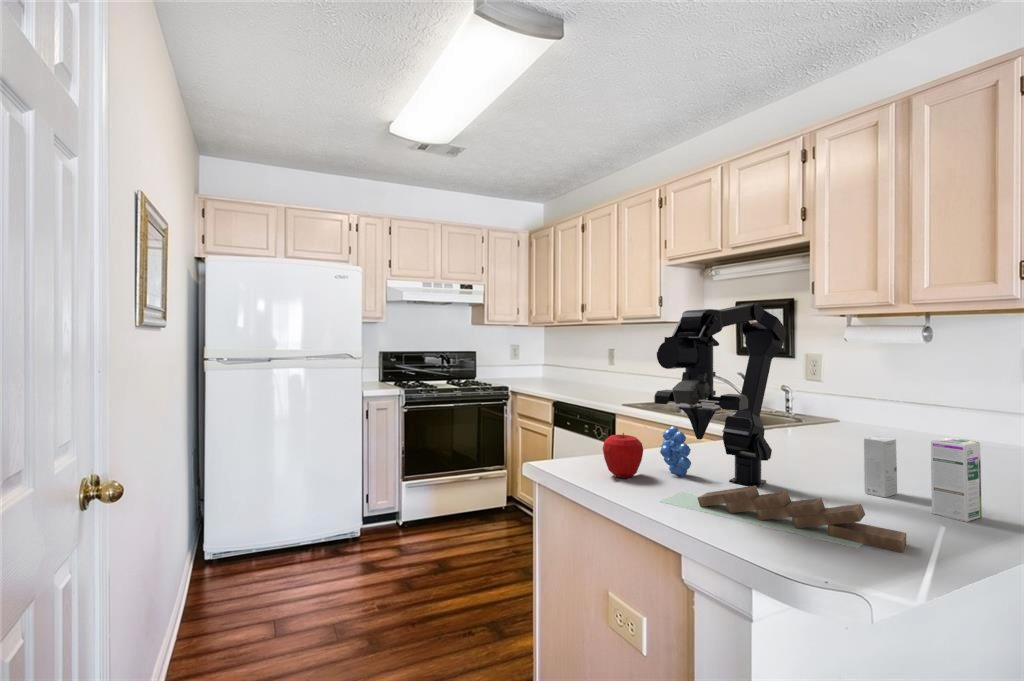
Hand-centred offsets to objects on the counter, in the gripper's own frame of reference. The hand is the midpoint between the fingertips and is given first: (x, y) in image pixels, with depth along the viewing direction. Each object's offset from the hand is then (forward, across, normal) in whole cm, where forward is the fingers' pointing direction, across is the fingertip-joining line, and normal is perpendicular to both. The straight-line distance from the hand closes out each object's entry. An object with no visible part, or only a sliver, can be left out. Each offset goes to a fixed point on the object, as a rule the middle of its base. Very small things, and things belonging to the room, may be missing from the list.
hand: (699, 439), depth 112 cm
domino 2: (+10, +10, -8) cm, 16 cm away
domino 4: (+10, +21, -8) cm, 25 cm away
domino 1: (+10, +4, -8) cm, 14 cm away
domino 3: (+10, +15, -8) cm, 20 cm away
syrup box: (+13, +41, +21) cm, 48 cm away
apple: (+12, -20, +1) cm, 23 cm away
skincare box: (+13, +28, +29) cm, 42 cm away
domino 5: (+10, +26, -8) cm, 29 cm away
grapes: (+12, -12, +11) cm, 20 cm away
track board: (+12, +14, -8) cm, 20 cm away
